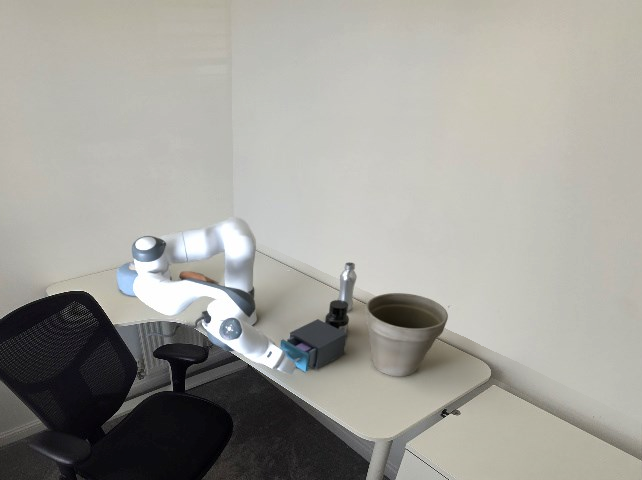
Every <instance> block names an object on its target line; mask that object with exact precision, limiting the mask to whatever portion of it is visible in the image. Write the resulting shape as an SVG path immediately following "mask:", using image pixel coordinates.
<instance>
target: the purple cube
mask: <svg viewBox="0 0 642 480" xmlns="http://www.w3.org/2000/svg"><path fill="white" fill-rule="evenodd" d="M296 347H298V348H299V349H301V350H303V351H305V352H306V353H308V354H309V351H311V350H313V347H312V346H310V345H308V344H307V343H305V342H303V343H301V344H299V345H297V346H296Z"/></svg>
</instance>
